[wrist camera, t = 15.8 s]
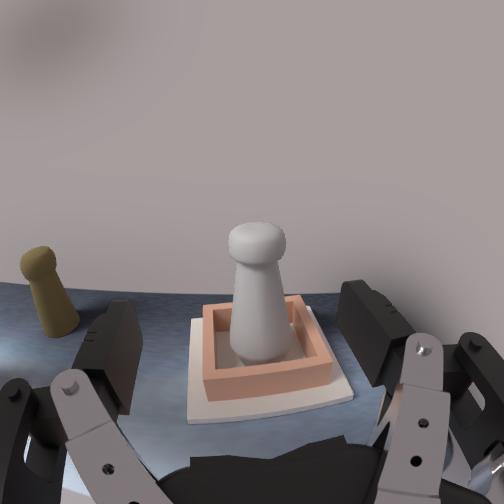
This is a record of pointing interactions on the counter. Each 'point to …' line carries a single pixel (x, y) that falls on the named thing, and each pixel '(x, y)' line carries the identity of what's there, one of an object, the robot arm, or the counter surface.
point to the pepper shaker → (49, 293)
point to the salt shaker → (258, 295)
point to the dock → (260, 371)
